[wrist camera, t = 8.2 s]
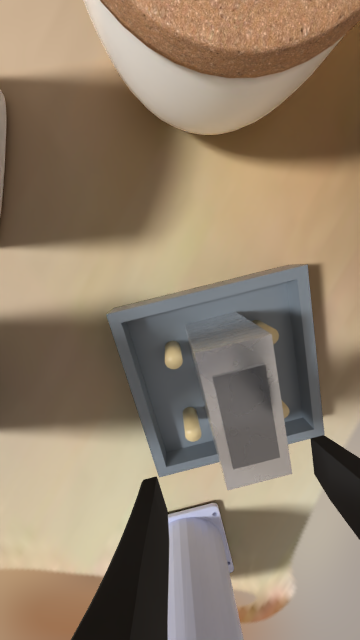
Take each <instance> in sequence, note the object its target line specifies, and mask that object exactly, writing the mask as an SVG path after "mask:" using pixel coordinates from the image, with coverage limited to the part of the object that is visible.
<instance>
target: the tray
mask: <svg viewBox="0 0 360 640" xmlns="http://www.w3.org/2000/svg"><path fill="white" fill-rule="evenodd" d="M232 312H237V313H238V314H240V315H242V316H243V317H245V318H246V319H248V320H250V321H251V322H253V323H254V324H256V325H258V326H259V327H261V328H262V329H264V330H266V331H267V332H269V333H270V334H272V340H273V347H274V354H275V360H276V367H277V374H278V381H279V388H280V394H281V401H282V408H283V415H284V422H285V428H286V435H287V442H288V444H291V443H295V442H299V441H303V440H307V439H311V438H314V437H318V436H322V435H324V426H323V416H322V405H321V395H320V385H319V375H318V365H317V355H316V345H315V335H314V325H313V315H312V305H311V295H310V285H309V275H308V265H286V266H282V267H278V268H274V269H270V270H266V271H262V272H257V273H253V274H249V275H245V276H241V277H237V278H233V279H229V280H225V281H221V282H217V283H213V284H209V285H205V286H201V287H197V288H193V289H189V290H185V291H181V292H177V293H173V294H169V295H165V296H161V297H157V298H153V299H148V300H144V301H140V302H136V303H132V304H128V305H124V306H120V307H116V308H114V309H112V310H111V311H110V312H109V313H107V314H106V316H107V319H108V322H109V325H110V328H111V331H112V334H113V337H114V340H115V343H116V346H117V349H118V353H119V356H120V359H121V362H122V365H123V368H124V371H125V374H126V377H127V380H128V383H129V386H130V389H131V392H132V395H133V399H134V402H135V405H136V408H137V411H138V414H139V417H140V420H141V423H142V426H143V429H144V432H145V435H146V438H147V441H148V445H149V448H150V451H151V454H152V457H153V460H154V463H155V466H156V469H157V472H158V475H159V477H162V476H166V475H170V474H174V473H178V472H182V471H186V470H190V469H193V468H197V467H201V466H205V465H209V464H213V463H217V462H219V458H218V455H217V451H216V448H215V444H214V441H213V437H212V434H211V430H210V426H209V423H208V419H207V415H206V410H205V406H204V402H203V398H202V394H201V390H200V386H199V382H198V377H197V373H196V369H195V365H194V361H193V357H192V353H191V349H190V344H189V340H188V336H187V332H186V328H185V324H188V323H192V322H196V321H200V320H204V319H208V318H212V317H216V316H220V315H224V314H228V313H232Z"/></svg>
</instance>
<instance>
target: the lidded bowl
mask: <svg viewBox="0 0 360 640" xmlns="http://www.w3.org/2000/svg"><path fill="white" fill-rule="evenodd" d="M83 1H84V4H85V6H86V9H87V11H88V14H89V16H90V18H91V21H92V23H93V25H94V28H95V30H96V32H97V35H98V37H99V39H100V40H101V42H102V44H103V46H104V48H105V50H106V52H107V54H108V56H109V58H110V59H111V61H112V63H113V65H114V67H115V68H116V70H117V72H118V74H119V75H120V77H121V78H122V79H123V81H124V82H125V84H126V85H127V86H128V88H129V89H130V91H131V92H132V93H133V94H134V95H135V96H136V97H137V98H138V99H139V100H140V101H141V102H142V103H143V105H144V106H145V107H146V108H147V109H148V110H149V111H151V112H152V113H153V114H154V115H156V116H157V117H158V118H159V119H161V120H162V121H164V122H166V123H168V124H169V125H171V126H173V127H175V128H177V129H180V130H183V131H186V132H189V133H195V134H201V135H217V134H223V133H227V132H232V131H235V130H238V129H240V128H243V127H245V126H247V125H250V124H252V123H254V122H256V121H258V120H259V119H261V118H262V117H264V116H265V115H267V114H269V113H270V112H271V111H272V110H274V109H275V108H276V107H278V106H279V105H280V104H281V103H282V102H284V101H285V100H286V99H287V98H288V97H289V96H290V95H291V94H293V93H294V92H295V91H296V90H297V89H298V88H299V87H300V86H301V85H302V84H303V83H304V82H305V81H306V80H307V79H308V78H309V77H310V76H311V75H312V74H313V72H314V71H315V70H316V69H317V68H318V67H319V65H320V64H321V63H322V62H323V61H324V59H325V58H326V57H327V56H328V55H329V53H330V52H331V51H332V50H333V49H334V47H335V46H336V45H337V44H338V43H339V41H340V40H341V39H342V38H343V37H344V35H345V34H346V33H347V32H348V31H349V30H350V29H351V28H352V27H354V26H355V25H356V24H357V23H358V21H359V20H360V0H83Z"/></svg>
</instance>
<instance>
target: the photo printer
mask: <svg viewBox="0 0 360 640" xmlns="http://www.w3.org/2000/svg"><path fill="white" fill-rule="evenodd" d="M5 147H6V104H5V98H4V95H3V93H2V91H1V90H0V216H1V207H2V196H3V182H4V169H5Z"/></svg>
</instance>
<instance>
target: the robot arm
mask: <svg viewBox="0 0 360 640" xmlns="http://www.w3.org/2000/svg"><path fill="white" fill-rule="evenodd" d="M311 447H312V456H313V465H314V474H315V476H316V477H317V479H318V481H319V482H320V484H321V486H322V487H323V489H324V491H325V492H326V494H327V495H328V497H329V499H330V500H331V502H332V503H333V504H334V506H335V507H336V508H337V510H338V511H339V512H340V514H341V515H342V517H343V518H344V519H345V521H346V522H347V523H348V525H349V526H350V527H351V529H352V530H353V531H354V533H355V534H356V535H357V537H358V538H359V539H360V458H358V457H357V456H355V455H354V454H352V453H351V452H349V451H347V450H346V449H344V448H343V447H341V446H340V445H338V444H337V443H335V442H334V441H332V440H330V439H329V438H327V437H326V436H324V435H322V436H318V437H314V438H311ZM233 570H234V566H233V562H232V558H231V554H230V550H229V546H228V543H227V539H226V535H225V531H224V527H223V523H222V519H221V515H220V511H219V508H218V505H217V504H216V503H210V504H206V505H202V506H199V507H195V508H191V509H187V510H183V511H179V512H175V513H171V514H168V511H167V508H166V504H165V501H164V498H163V495H162V492H161V488H160V485H159V482H158V479H157V477H153V478H149V479H145V480H143V482H142V484H141V487H140V490H139V493H138V496H137V499H136V501H135V504H134V507H133V510H132V512H131V515H130V518H129V520H128V523H127V525H126V528H125V530H124V533H123V535H122V538H121V540H120V542H119V545H118V547H117V549H116V551H115V554H114V556H113V558H112V560H111V563H110V565H109V567H108V569H107V571H106V574H105V576H104V578H103V580H102V582H101V584H100V586H99V588H98V590H97V592H96V594H95V596H94V598H93V600H92V602H91V604H90V606H89V608H88V610H87V611H86V613H85V615H84V617H83V619H82V621H81V622H80V624H79V626H78V628H77V630H76V632H75V633H74V635H73V637H72V639H71V640H244V639H243V634H242V630H241V625H240V620H239V616H238V611H237V606H236V602H235V597H234V592H233V587H232V583H231V578H230V573H231V572H233Z"/></svg>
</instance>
